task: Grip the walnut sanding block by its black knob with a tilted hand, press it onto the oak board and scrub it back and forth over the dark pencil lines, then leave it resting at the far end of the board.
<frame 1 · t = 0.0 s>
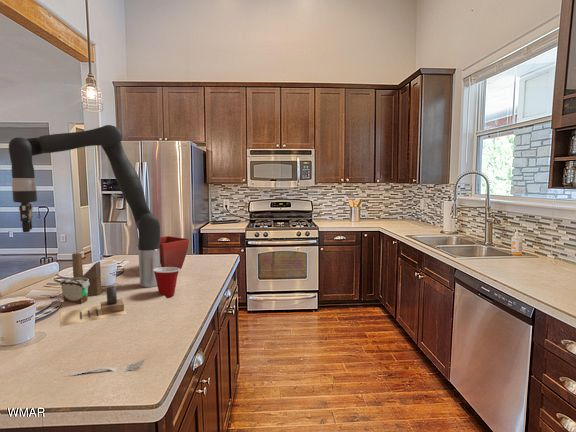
hand: (27, 230, 135), 29 cm above the counter, tool pointing down, fingers open, 8 cm apart
food container: (79, 304, 137), on the counter
wooden block: (87, 294, 149), on the counter
plastic cup: (167, 296, 146), on the counter
plant pot: (165, 269, 191), on the counter
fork: (94, 374, 88), on the counter
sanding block: (112, 309, 126), point 1 cm above the counter, touching oak board
oak board: (94, 317, 123), on the counter
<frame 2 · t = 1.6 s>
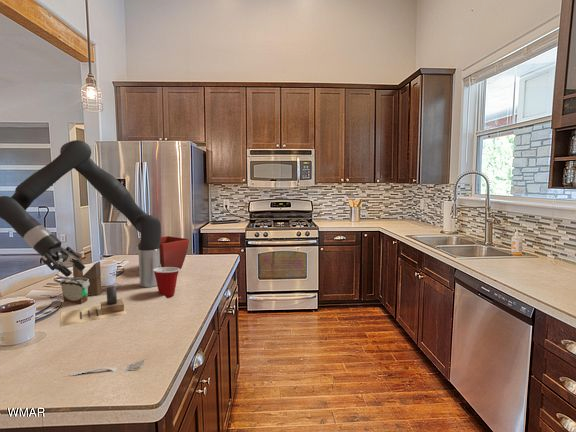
hand: (76, 272, 124), 16 cm above the counter, tool tilted 45°, fingers open, 8 cm apart
nothing on the counter moved.
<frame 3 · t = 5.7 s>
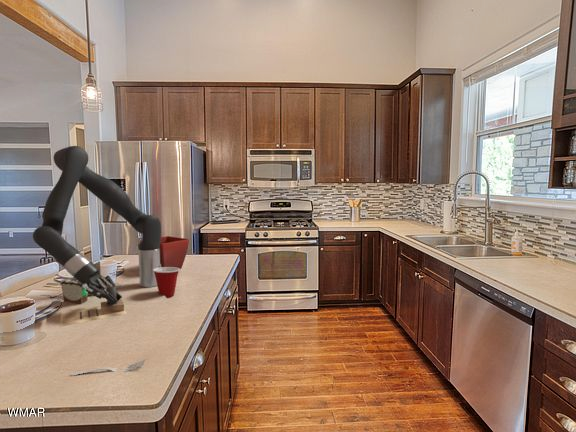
hand: (117, 300, 126), 5 cm above the counter, tool tilted 45°, fingers closed on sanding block, 3 cm apart
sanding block: (112, 309, 126), point 1 cm above the counter, touching gripper, oak board
everything else where it was.
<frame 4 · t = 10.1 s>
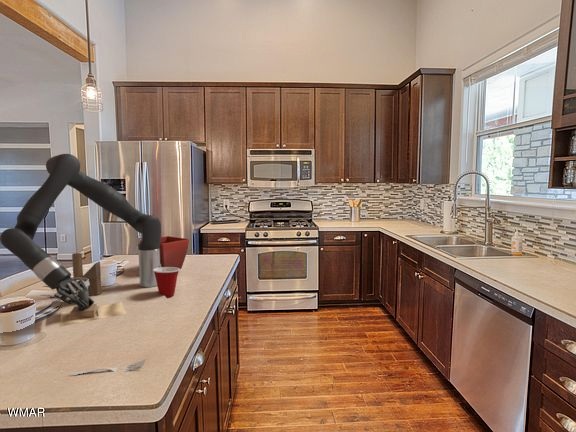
hand: (89, 306, 121), 5 cm above the counter, tool tilted 45°, fingers closed on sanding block, 3 cm apart
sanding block: (84, 314, 121), point 2 cm above the counter, touching gripper
everything else where it was.
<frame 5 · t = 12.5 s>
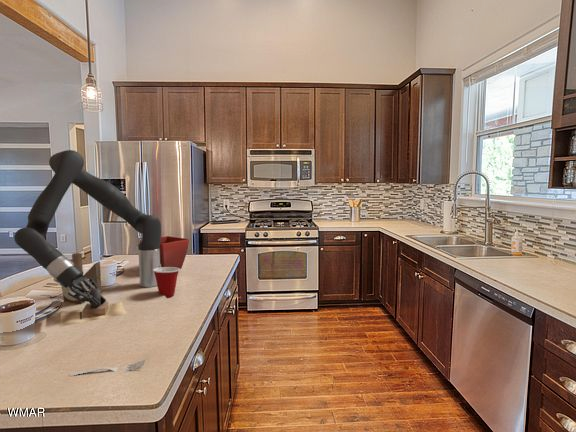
hand: (101, 304, 123), 5 cm above the counter, tool tilted 45°, fingers closed on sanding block, 3 cm apart
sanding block: (96, 312, 123), point 2 cm above the counter, touching gripper
everything else where it was.
when the fingers open (5 cm above the counter, at t = 14.7 s): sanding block stays where it is, resting on oak board.
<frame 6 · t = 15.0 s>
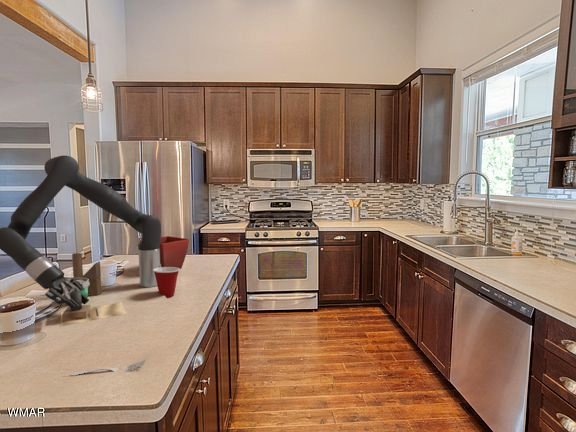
hand: (82, 305, 120), 5 cm above the counter, tool tilted 45°, fingers open, 5 cm apart
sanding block: (77, 316, 120), point 2 cm above the counter, touching oak board
everything else where it was.
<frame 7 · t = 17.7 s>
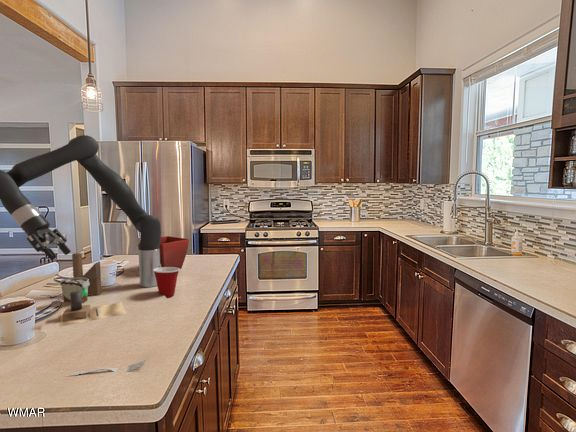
hand: (61, 255, 123), 22 cm above the counter, tool tilted 35°, fingers open, 8 cm apart
nothing on the counter moved.
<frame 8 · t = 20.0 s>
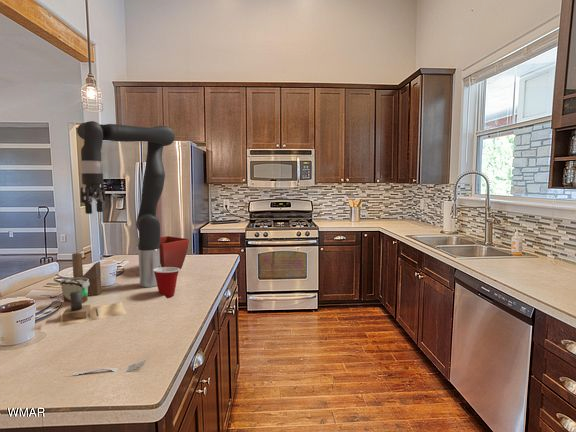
hand: (94, 212, 139), 36 cm above the counter, tool pointing down, fingers open, 8 cm apart
nothing on the counter moved.
at the end: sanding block inside the target area on the oak board (0.2 cm from its centre), point 1.5 cm above the oak board's base; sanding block tilted 0°; the gripper is holding nothing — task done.
